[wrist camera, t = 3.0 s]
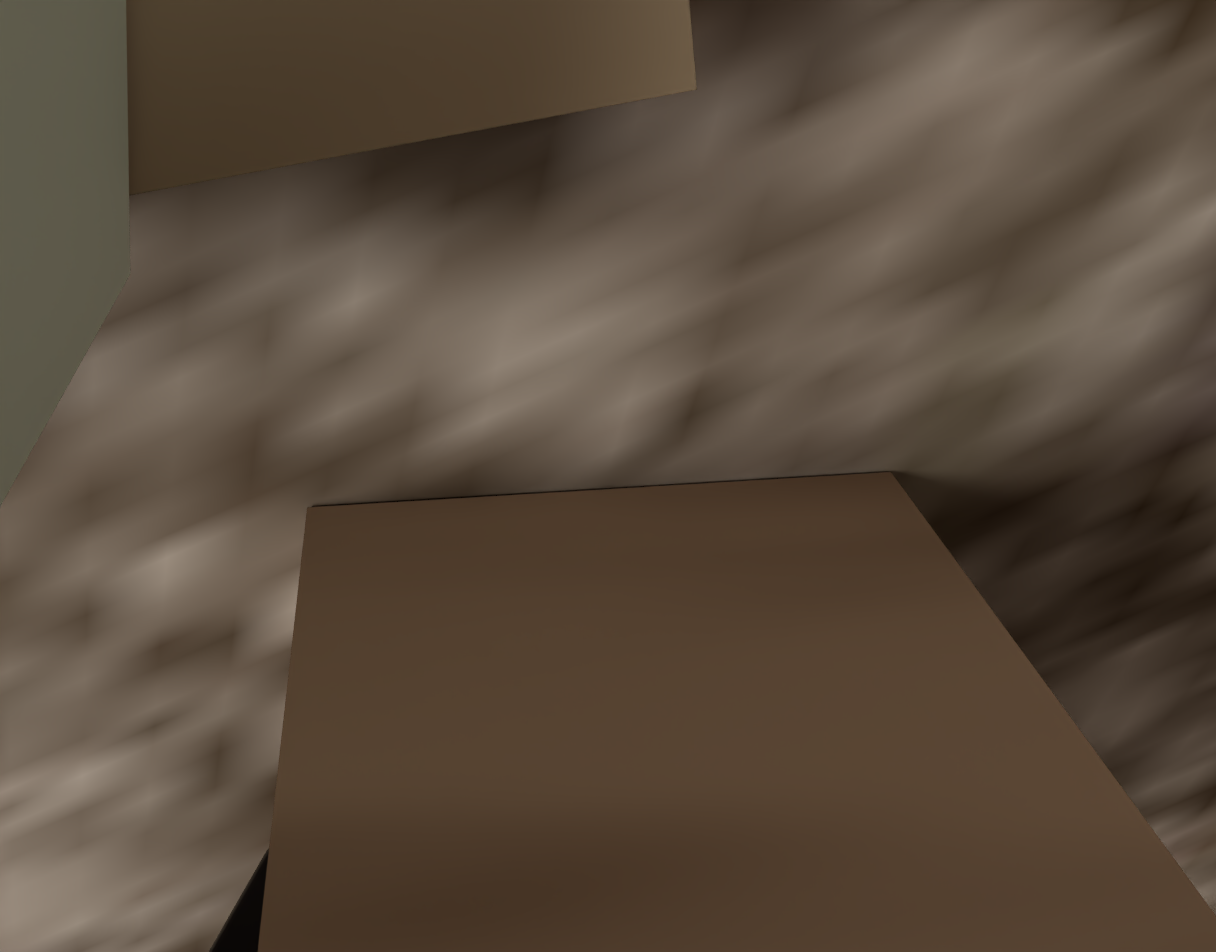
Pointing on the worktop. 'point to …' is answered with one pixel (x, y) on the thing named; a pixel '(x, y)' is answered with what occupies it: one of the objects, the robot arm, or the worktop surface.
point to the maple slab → (375, 74)
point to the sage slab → (57, 202)
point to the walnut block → (686, 739)
